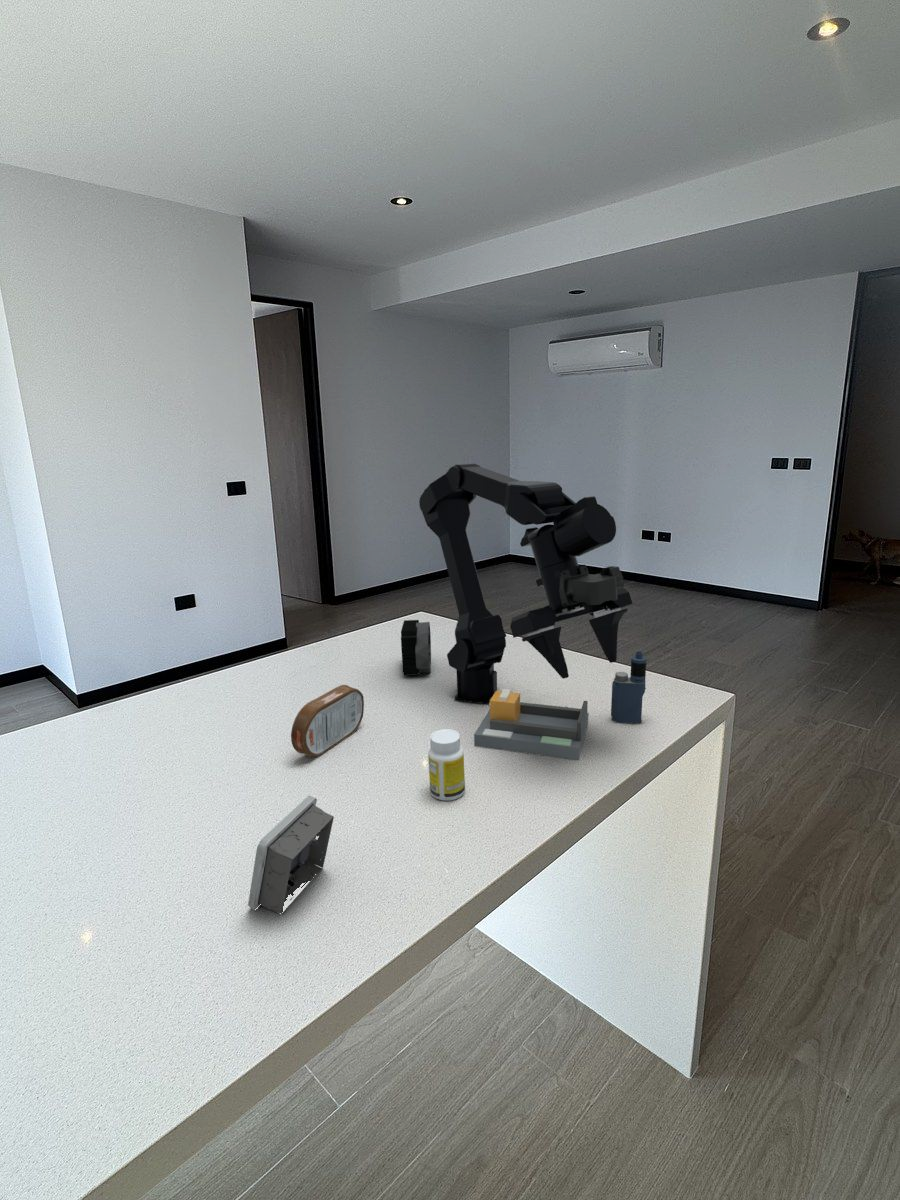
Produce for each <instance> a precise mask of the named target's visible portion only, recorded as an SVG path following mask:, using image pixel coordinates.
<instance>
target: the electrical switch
mask: <svg viewBox="0 0 900 1200" xmlns="http://www.w3.org/2000/svg"><path fill="white" fill-rule="evenodd" d="M317 802H318V799H317V797H314V796H312V795H308V796H306V798H304V799H303V800H302V801H301V802H300V803H299V804H298V805H296V807H294V808H293V809H292V811H290V812H289V813H288V814H287V815H286V816H285V817H284V818H283V819H282V820H281V821H279V823H277V824H276V825H274V827H273V828H272V829H271V830H270V831H268V833H266V834H265V835H264V836H263V837H262V838H261V839H260V841H259V843H258V845H257V847H256V851H255V852H256V853H255V857H254V858H255V859H254V866H253V872H252V878H251V883H250V890H249V896H248V904H247V906H248V907H249V908H250V909H252V911H254V910H255V909H256V908H257V907H258V906H259V905H260V904H261V906H262V907H265V908H266V909H268V910H271V911H273V912H275V913H277V912H278V913H277V914H279V913H281V914H282V912H283V906H284V902H285V901H286V900H287V899H286V898H287V897H288V895H290V894H291V895H292V896H293V895H294V894H293V892H294V891H295V890H296V889H297V888H299V887H300V885H301V884H302V883H305V882H306V883H307V882H308V881H311V880H312V879H313V877H314V876H315V874H317V875H318V874H319V873H320V872H321V871H322V869H323V868H324V865H325V859H326V857H327V856H326V855H327V851H328V847H329V841H330V838H331V837H330V836H331V832H332V828H333V822H334V819H335V817H334V815H331V814H329V813H328V812H325V810H323V809H322V808H321V807H318V806H316V805H317ZM317 837H318V838H317ZM315 877H316V876H315ZM315 877H314V878H315ZM313 880H314V879H313ZM313 880H312V881H313ZM289 881H291V882H292V883H293V884H294V885H292V886H291V885H289V883H288V882H289ZM312 881H311V882H312ZM306 883H305V884H306ZM305 884H304V885H305ZM304 885H303V886H304ZM303 886H302V887H303ZM302 887H301V888H302ZM282 915H283V914H282Z"/></svg>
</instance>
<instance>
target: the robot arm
mask: <svg viewBox="0 0 900 1200" xmlns="http://www.w3.org/2000/svg"><path fill="white" fill-rule="evenodd" d="M477 496H478V497H480V498H483V499H485V500H488V501H490V502H492V503H495V504H497V505H500V506H501V507H503V508H504V510H505V513H506V515H507V516H509V517H510V518H511V519H513V520H514V521H515V522H517V523H518V524H520V525H522V526H529V525H536V526H535V527H531V528H529V527H528V528H526V529H525V532H524V535H523V536H522V538H521V540H520V544H519V545H520V546H521V547H523V548H524V547H528V546H530V548H531V550H532V551H531V552H532V554H533V557H534V560H535V564H536V567H537V570H538V573H539V577H540V578H538V579H535V583H536V585H537V588H539V587H543V591H544V593H545V596H546V600H547V603H548V605H546V606H543V607H541V608H537V609H533V610H529V611H525V612H523V613H521V614H519V615H515V616H512V618H511V622H510V630H511V634H512V637H513V638H517V637H522V636H525V635H526V636H525V637H522V638H521V641H522V642H523V643H524V642H527V643H528V644H529V645H531V647H532V648H534V649H535V650H536V651H537V652H538V653H539V654H540V655H541V656H542V657H543V658H544V659H545V660H546V662H548V664H549V665H550V666H551V667H552V668H553V670H554V671H555V672H556V673H557V674H558V675H559V676H560V678H562V679H567V678H569V671H568V669H569V668H568V666H567V662H566V659H565V655H564V653H563V647H562V645H561V642H560V636H561V631H562V630H561V629H562V627H561V626H559V627H558V626H557V627H554V626H555V625H556V623H558V622H562V621H567V620H570V619H573V618H578V617H581V616H585V615H590V616H592V617H593V618H591V619H588V622H589V624H590V626H591V628H592V630H593V632H594V634H595V637H596V638H597V640H598V642H599V645H600V647H601V649H602V652H603V654H604V655H605V657H606V658H607V660H608V661H609V663H610V664H612V663H617V659H618V655H617V653H618V632H619V625H620V621H621V620H622V618H623V616H624V614H625V613H628V612H629V611H628V610H629V608H626V607H629V606H631V605H633V604H634V602H633V601H632V598H631V595H630V591H628V590H627V589H625V588H624V586H625V583H624V576H623V573H622V571H621V569H620V567H619V566H614V565H611V566H607V567H603V568H602V569H601V570H600V571H601V572H600V573H595V574H592V573H591V574H590V572H589V569H588V567H587V566H586V564H581V565H579V562H578V559H577V557H581V556H583V555H585V554H587V553H590V552H591V551H594V550H596V549H599V548H601V547H603V546H604V545H608V544H609V543H611V542H612V541H613V540H614V539H615V537H616V534H617V525H616V520H615V518H614V516H612V515H611V513H610V511H608V510H607V508H605V507H604V506H603V505H601V504H599V503H598V502H597V498H596V496H594V495H593V496H584V497H583V498H582V497H581V498H580V499H579V500H577V502H575V501H574V500H573V499H572V498H571V497H569V496H568V495H567V494H565V492H563V487H562V486H561V484H558V483H557V482H553V481H552V482H551V481H542V480H541V481H540V480H539V481H538V480H537V481H535V480H533V481H532V480H531V481H530V480H529V481H527V480H519V479H517V478H512V477H510V476H507V475H505V474H502V473H499V472H496V471H493V470H490V469H487V468H484V467H482V466H481V465H479V464H477V463H475V462H474V463H461V464H454V465H453V466H450V467H449V469H448V470H447V471H446V473H445V474H443V475H441V476H440V477H438V478H437V479H435V480H434V481H432V482H431V483H430V484H429V485H428V486H427V487H426V488H425V489H424V491H423V493H421V495H420V496H419V500H418V502H419V504H418V505H419V509H420V511H421V512H422V515H423V518H424V522H425V523H426V526H427V527H428V528H429V529H430V530H431V531H432V532H433V533H434V534H435V535H436V536H437V537H438V539H439V542H440V545H441V546H440V547H441V550H442V554H443V558H444V563H445V566H446V570H447V574H448V576H449V577H448V578H449V581H450V585H451V588H452V592H453V596H454V600H455V604H456V608H457V612H458V619H457V622H456V625H455V629H454V637H455V642H456V643H455V644H454V645H453V646H452V648H451V649H450V650H449V651H448V653H447V654H446V656H447V657H446V658H447V661H448V662H447V663H448V665H449V667H451V668H453V669H454V670H456V695H455V696H454V697H453V699H454V701H459V702H467V703H477V704H485V705H487V704H490V700H491V698H492V696H493V695H494V693H495V692H496V691H498V673H497V672H498V671H497V670H495V664H498V663H502V660H503V657H504V656H503V655H504V653H505V649H506V648H507V641H506V638H507V633H506V632H505V629H504V627H503V620H502V617H501V616H500V614H495V615H494V614H493V613H492V612H491V611H490V610H489V609H488V608H487V606H486V601H485V598H484V594H483V591H482V588H481V587H482V586H481V583H480V580H479V576H478V572H477V568H476V565H475V563H476V562H475V561H474V556H473V553H472V549H471V545H470V542H469V541H470V540H469V537H468V534H467V527H468V524H469V522H470V521H469V519H470V515H471V509H470V505H471V503H473V502H474V500H475V499H476V497H477ZM549 523H550V524H549ZM551 523H552V524H551ZM544 524H545V525H544ZM537 525H543V526H541V527H539V528H538V527H537ZM578 607H579V608H578ZM624 607H625V608H624ZM622 608H623V609H622ZM564 610H567V611H564Z"/></svg>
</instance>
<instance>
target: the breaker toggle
mask: <svg viewBox="0 0 900 1200" xmlns="http://www.w3.org/2000/svg"><path fill="white" fill-rule="evenodd" d="M520 702H521V693H520V692H514V691H512V689H509V688H508V689H507V688H503V690H497V691H496V692H495V693H494V695H493V696H492V698H491V700H490V702H489V709H490V720H491V719H500V720H508V721H516V722H517V721H518V719H519V717H520Z"/></svg>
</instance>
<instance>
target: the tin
mask: <svg viewBox="0 0 900 1200" xmlns="http://www.w3.org/2000/svg"><path fill="white" fill-rule="evenodd" d="M364 698H365V697H364V695H363V693H362V692H361V690H359V689H358V688H354V687H352V686H349V685H347V684H341V685H338V686H336V687H334V688H332V689H331V690H329V691H327V692H325V693H324V694H322V695H319V696H318V697H316V698H313V700H310V701H308V702H307V703H306V704H304V705H303V706H302V707H301V709H300V710H299V711H298V712H297V714H296V716H295V718H294V721H293V723H292V727H291V731H290V741H291V745H292V747H293V749H294V750H295V751H296V752H297V753H299V754H304V755H306V756H309V757H312V758H313V757H319V756H322V755H323V754H325V753H326V752H328V751H329V750H331V749H332V748H334V747H336V746H337V745H339V744H340V743H341V742H343V741H344V740H346V739H347V738H348V737H350V736H352V735H354V733H355V732H356V730H358V728H359V726H360V724H361V722H362V720H363V717H364V710H365V709H364V708H365V700H364ZM321 754H322V755H321Z"/></svg>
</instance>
